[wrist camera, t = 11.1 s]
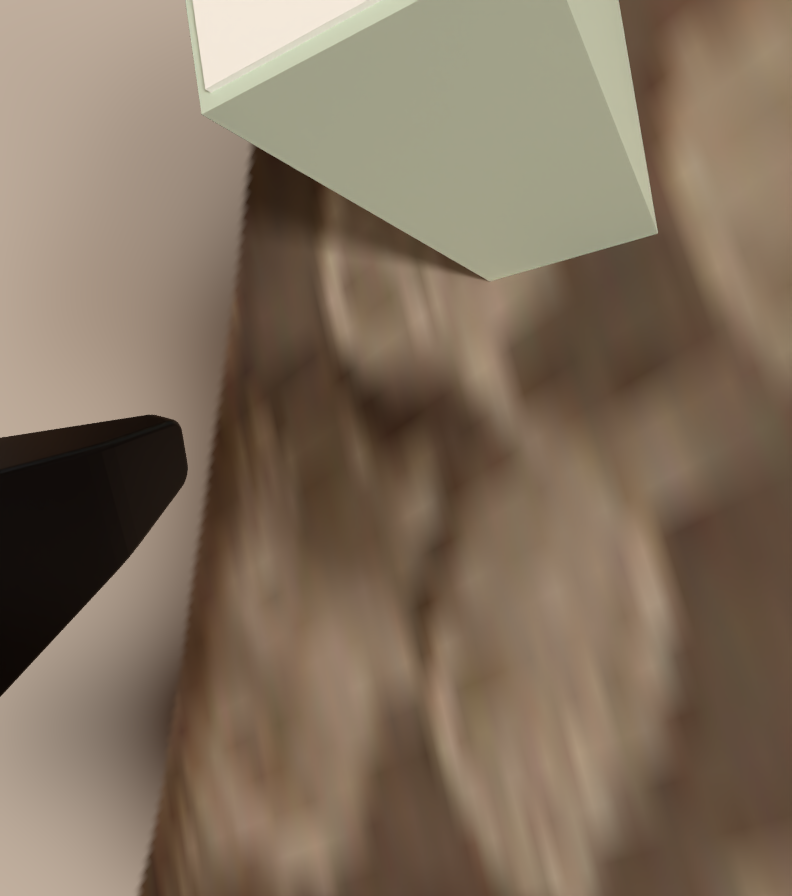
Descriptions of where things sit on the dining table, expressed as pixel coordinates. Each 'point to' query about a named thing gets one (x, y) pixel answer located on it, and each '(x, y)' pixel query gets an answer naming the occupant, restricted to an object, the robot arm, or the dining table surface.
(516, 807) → the dining table surface
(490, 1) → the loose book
